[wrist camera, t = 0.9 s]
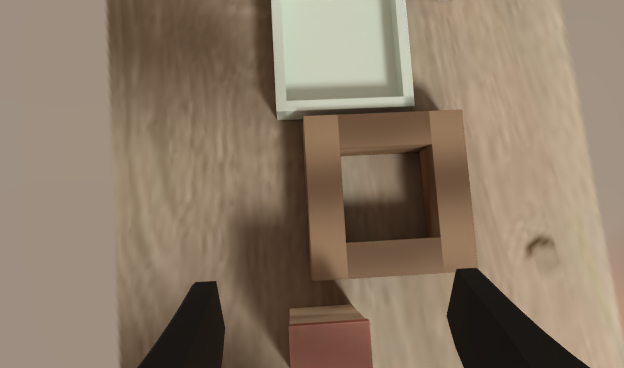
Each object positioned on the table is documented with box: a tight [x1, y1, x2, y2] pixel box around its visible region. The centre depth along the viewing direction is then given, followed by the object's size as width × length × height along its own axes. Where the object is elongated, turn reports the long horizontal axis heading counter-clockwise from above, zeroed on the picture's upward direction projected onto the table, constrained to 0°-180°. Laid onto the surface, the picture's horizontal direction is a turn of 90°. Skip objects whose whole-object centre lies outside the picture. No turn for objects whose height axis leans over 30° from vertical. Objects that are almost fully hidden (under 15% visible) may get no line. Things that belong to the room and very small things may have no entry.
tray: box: [271, 0, 415, 120], centre depth 26 cm, size 10×8×2 cm
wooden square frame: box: [302, 110, 478, 281], centre depth 25 cm, size 9×9×2 cm
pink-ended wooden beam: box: [289, 304, 373, 368], centre depth 22 cm, size 4×4×6 cm
